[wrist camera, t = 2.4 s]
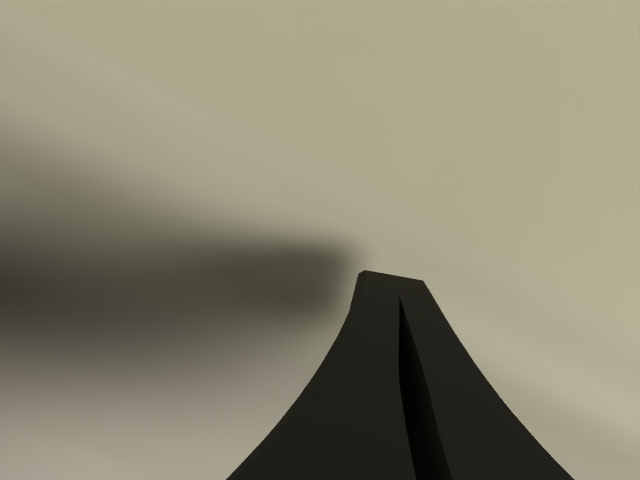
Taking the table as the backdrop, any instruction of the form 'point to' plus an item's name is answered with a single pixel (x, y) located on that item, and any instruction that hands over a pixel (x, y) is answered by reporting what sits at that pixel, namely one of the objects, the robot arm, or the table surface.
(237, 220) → the table surface
